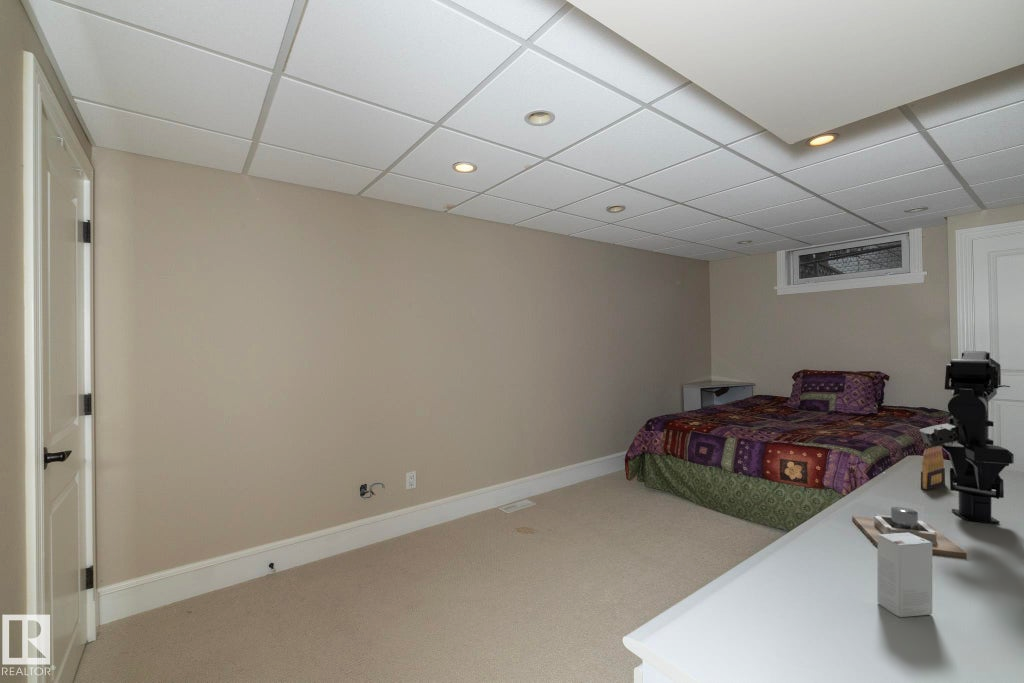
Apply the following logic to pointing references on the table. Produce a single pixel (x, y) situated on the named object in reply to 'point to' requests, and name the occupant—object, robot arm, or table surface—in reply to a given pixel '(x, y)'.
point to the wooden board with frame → (925, 531)
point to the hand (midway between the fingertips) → (970, 483)
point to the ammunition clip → (932, 469)
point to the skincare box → (904, 574)
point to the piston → (904, 518)
